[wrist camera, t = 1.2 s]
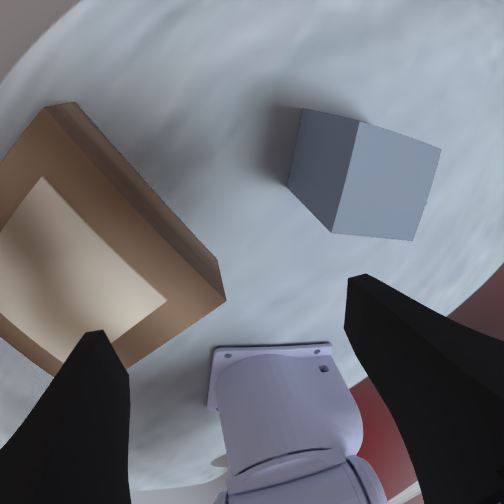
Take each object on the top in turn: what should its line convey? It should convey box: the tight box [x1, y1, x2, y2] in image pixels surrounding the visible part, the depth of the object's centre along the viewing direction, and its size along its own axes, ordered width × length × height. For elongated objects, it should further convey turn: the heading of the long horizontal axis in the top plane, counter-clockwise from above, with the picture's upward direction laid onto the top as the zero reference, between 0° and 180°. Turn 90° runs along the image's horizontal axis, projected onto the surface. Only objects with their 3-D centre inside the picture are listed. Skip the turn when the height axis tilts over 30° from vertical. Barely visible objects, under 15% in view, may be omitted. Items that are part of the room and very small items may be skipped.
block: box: [287, 109, 441, 241], centre depth 14 cm, size 4×4×6 cm
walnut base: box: [0, 102, 226, 377], centre depth 15 cm, size 12×12×4 cm
